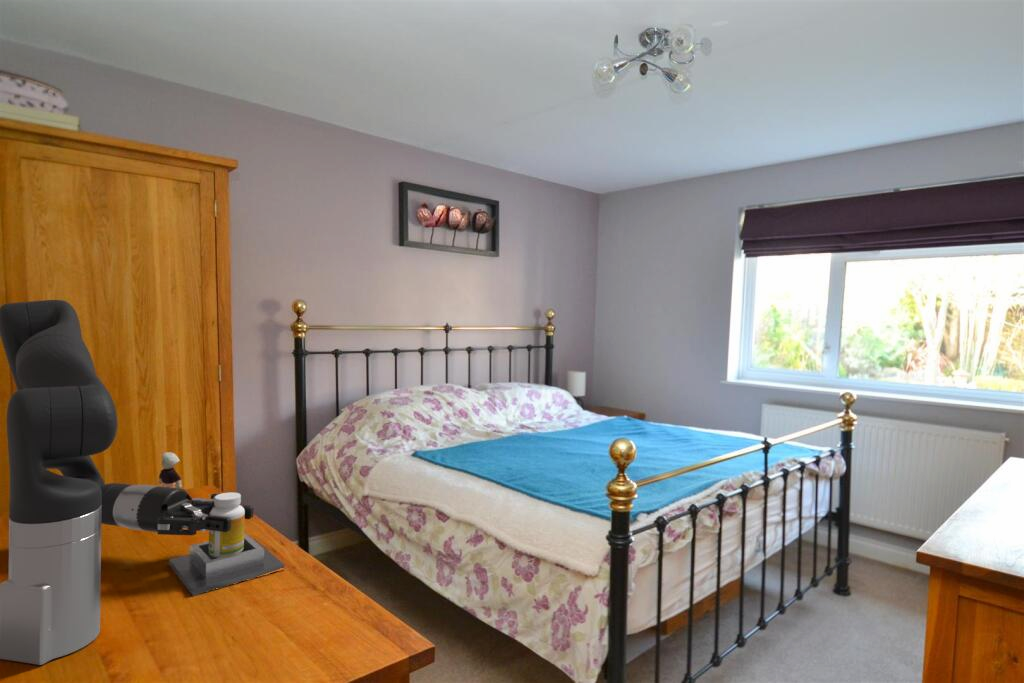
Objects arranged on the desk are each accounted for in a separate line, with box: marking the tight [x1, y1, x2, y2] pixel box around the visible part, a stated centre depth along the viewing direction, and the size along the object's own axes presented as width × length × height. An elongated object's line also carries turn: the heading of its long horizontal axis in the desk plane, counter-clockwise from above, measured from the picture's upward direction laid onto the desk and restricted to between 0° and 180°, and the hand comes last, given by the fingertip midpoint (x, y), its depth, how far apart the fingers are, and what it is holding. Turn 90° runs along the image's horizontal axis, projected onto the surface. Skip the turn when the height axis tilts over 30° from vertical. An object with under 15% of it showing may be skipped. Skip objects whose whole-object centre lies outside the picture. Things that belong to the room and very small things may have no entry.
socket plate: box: [168, 532, 285, 597], centre depth 95 cm, size 14×14×4 cm
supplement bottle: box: [208, 492, 246, 558], centre depth 95 cm, size 5×5×10 cm
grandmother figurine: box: [157, 451, 183, 489], centre depth 120 cm, size 8×4×13 cm, turn 73°
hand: (241, 518), depth 94 cm, fingers closed on supplement bottle, 5 cm apart
